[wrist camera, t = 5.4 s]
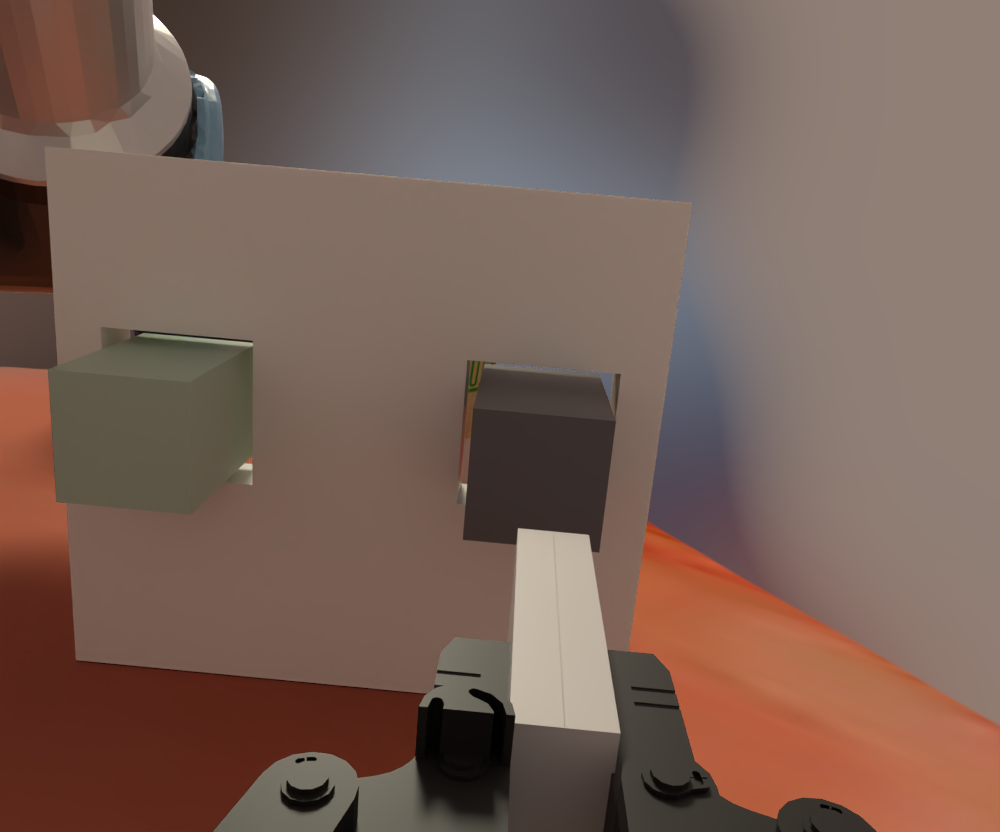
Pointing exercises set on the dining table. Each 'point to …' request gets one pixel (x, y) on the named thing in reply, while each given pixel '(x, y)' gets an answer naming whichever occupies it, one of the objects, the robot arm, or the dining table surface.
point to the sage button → (151, 422)
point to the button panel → (350, 400)
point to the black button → (538, 454)
